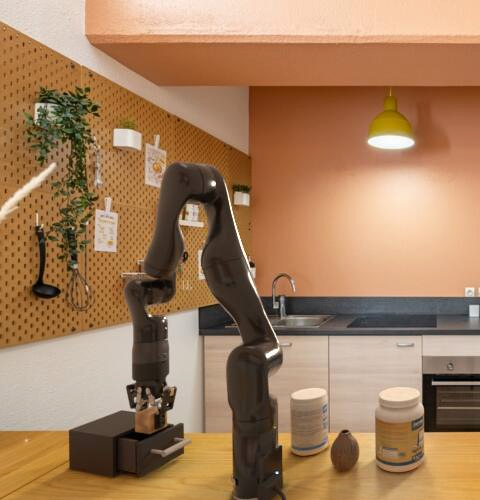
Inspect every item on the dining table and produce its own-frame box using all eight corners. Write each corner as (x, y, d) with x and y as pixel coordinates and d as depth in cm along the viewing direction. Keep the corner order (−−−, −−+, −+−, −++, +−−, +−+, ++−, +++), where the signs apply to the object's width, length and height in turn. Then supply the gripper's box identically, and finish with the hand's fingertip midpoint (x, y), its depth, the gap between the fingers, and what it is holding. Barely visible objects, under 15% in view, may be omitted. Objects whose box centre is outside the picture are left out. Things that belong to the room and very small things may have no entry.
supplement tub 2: (423, 474, 95) (423, 402, 95) (371, 475, 95) (371, 403, 95) (425, 448, 107) (424, 385, 107) (379, 449, 107) (378, 385, 107)
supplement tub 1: (332, 450, 107) (332, 395, 107) (295, 461, 102) (295, 402, 102) (321, 436, 115) (321, 385, 115) (286, 445, 110) (286, 391, 110)
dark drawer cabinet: (163, 451, 107) (162, 415, 107) (113, 477, 95) (112, 437, 95) (122, 444, 111) (121, 410, 111) (69, 469, 99) (68, 429, 99)
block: (167, 426, 101) (167, 407, 101) (149, 434, 97) (149, 415, 97) (153, 424, 103) (153, 405, 103) (135, 431, 98) (135, 413, 98)
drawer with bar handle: (199, 455, 103) (199, 425, 103) (157, 480, 92) (156, 446, 92) (144, 446, 108) (144, 417, 108) (98, 469, 97) (97, 436, 97)
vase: (364, 461, 101) (364, 426, 101) (351, 476, 94) (350, 439, 94) (339, 458, 103) (339, 423, 103) (324, 472, 96) (324, 435, 96)
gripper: (113, 360, 98) (114, 430, 98) (159, 364, 94) (159, 437, 94) (143, 352, 105) (144, 417, 105) (187, 356, 101) (187, 423, 101)
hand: (151, 426), depth 100 cm, fingers closed on block, 4 cm apart
